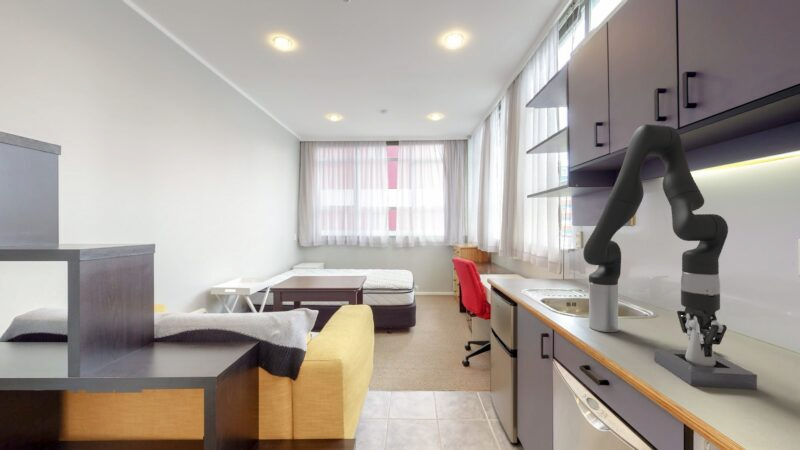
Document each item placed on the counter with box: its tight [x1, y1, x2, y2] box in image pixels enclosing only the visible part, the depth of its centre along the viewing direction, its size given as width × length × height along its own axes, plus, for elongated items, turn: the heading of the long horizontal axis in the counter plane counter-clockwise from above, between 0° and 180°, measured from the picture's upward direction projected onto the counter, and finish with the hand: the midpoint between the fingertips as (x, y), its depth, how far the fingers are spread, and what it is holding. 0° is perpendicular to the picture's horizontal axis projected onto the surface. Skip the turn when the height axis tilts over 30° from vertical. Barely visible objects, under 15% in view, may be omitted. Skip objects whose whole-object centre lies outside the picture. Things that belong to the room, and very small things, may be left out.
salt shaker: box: [685, 319, 716, 368], centre depth 84 cm, size 6×6×13 cm
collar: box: [653, 348, 758, 391], centre depth 84 cm, size 14×14×4 cm
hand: (700, 354), depth 84 cm, fingers closed on salt shaker, 3 cm apart
